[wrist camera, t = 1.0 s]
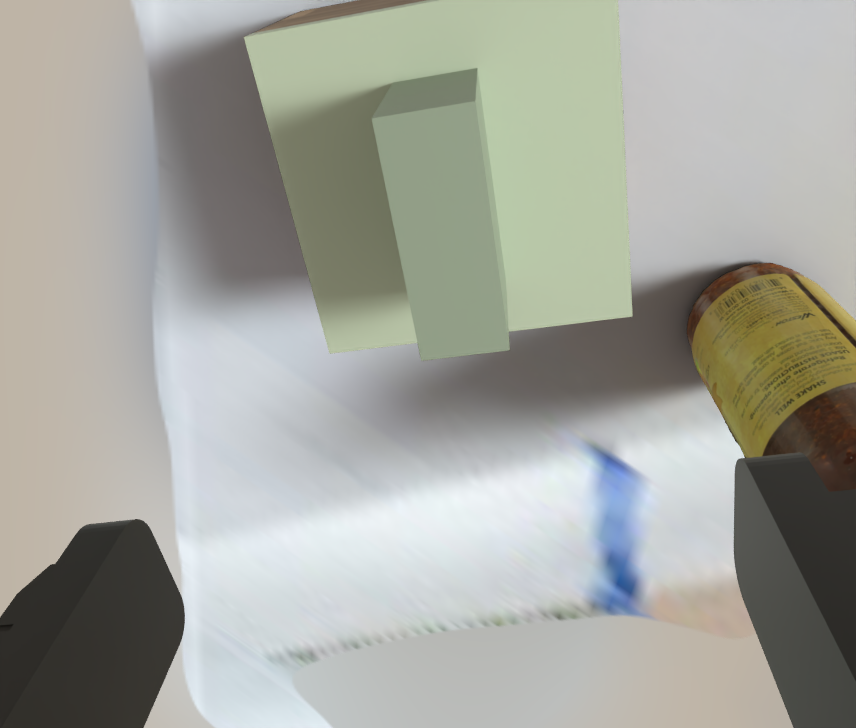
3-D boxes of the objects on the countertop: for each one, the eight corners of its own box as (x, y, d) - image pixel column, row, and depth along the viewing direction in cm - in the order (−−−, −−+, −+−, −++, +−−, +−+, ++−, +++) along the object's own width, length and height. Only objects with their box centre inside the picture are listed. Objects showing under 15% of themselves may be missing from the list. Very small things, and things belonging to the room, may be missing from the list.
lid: (261, 29, 24) (186, 63, 18) (606, -36, 23) (649, -23, 17) (338, 328, 30) (300, 431, 24) (623, 292, 28) (661, 392, 22)
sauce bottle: (664, 365, 36) (822, 755, 19) (708, 244, 33) (945, 582, 16) (797, 387, 37) (1072, 795, 19) (853, 269, 33) (1241, 631, 16)
